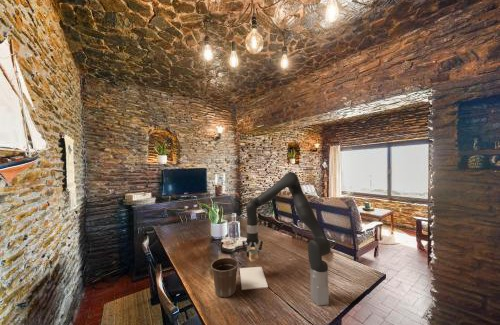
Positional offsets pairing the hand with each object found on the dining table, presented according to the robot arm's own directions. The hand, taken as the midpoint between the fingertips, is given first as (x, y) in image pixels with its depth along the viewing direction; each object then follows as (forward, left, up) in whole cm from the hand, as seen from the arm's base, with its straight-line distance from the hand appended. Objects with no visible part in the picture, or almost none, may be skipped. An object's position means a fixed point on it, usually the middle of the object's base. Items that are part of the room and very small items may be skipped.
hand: (252, 256), depth 131 cm
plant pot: (-12, +18, -14) cm, 26 cm away
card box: (0, 0, -1) cm, 1 cm away
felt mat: (0, 0, -14) cm, 14 cm away
